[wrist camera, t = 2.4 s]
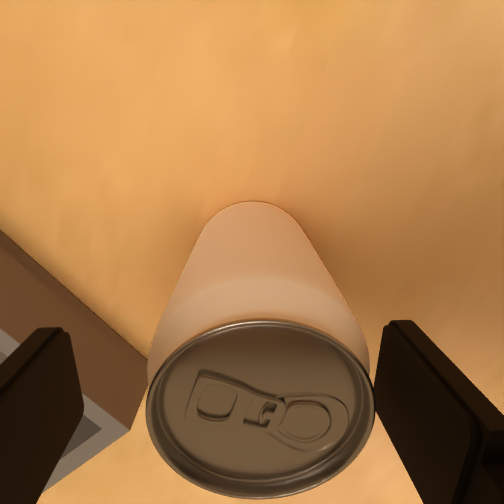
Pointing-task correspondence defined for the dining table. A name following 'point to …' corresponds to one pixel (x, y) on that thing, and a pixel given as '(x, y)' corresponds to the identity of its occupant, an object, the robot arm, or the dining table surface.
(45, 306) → the box
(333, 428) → the can
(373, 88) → the dining table surface
